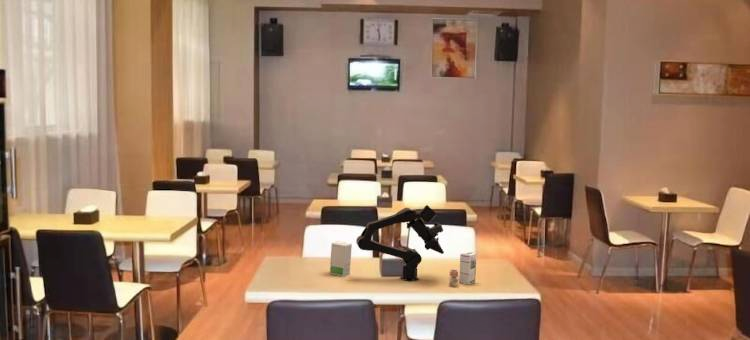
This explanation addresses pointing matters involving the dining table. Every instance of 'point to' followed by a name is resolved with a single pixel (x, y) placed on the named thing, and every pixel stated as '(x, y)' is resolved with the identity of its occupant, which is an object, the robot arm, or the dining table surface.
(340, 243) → the skincare box
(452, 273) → the terracotta block
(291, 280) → the dining table surface
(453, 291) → the dining table surface
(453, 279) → the beech block
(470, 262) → the syrup box
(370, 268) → the dining table surface
